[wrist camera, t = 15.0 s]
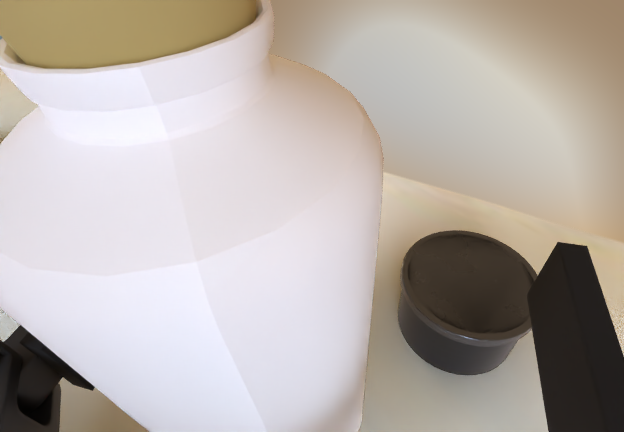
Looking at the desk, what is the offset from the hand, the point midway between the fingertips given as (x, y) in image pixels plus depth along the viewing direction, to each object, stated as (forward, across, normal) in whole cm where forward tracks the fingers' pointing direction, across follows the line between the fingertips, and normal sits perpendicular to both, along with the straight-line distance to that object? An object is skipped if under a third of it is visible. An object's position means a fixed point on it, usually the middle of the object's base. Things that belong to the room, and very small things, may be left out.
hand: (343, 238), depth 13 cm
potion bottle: (-3, -3, -9) cm, 10 cm away
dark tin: (+3, +6, -9) cm, 11 cm away
